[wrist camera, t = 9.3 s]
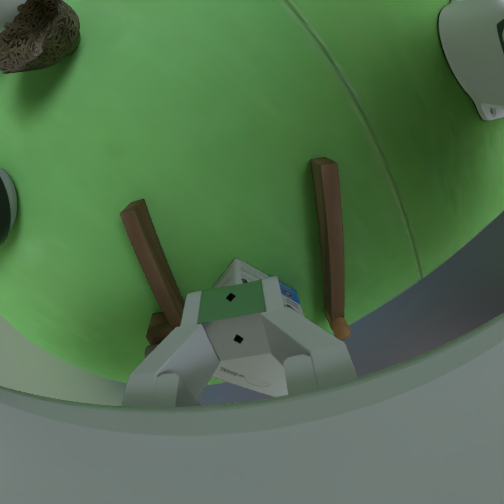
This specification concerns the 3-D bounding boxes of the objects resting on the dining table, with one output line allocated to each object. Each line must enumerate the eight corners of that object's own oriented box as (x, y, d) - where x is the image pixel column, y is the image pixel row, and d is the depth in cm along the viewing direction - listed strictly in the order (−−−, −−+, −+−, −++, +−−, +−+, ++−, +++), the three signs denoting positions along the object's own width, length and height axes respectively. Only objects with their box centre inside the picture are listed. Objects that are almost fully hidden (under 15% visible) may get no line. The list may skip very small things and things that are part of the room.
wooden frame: (326, 156, 24) (360, 173, 17) (337, 310, 33) (357, 351, 26) (105, 211, 24) (72, 243, 18) (169, 343, 33) (162, 387, 27)
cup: (82, 1, 13) (42, -22, 6) (112, 36, 16) (70, 14, 9) (33, 51, 14) (-14, 46, 7) (58, 90, 17) (7, 91, 10)
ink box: (297, 290, 31) (327, 372, 20) (271, 318, 32) (288, 400, 22) (234, 255, 28) (239, 340, 17) (209, 288, 29) (204, 376, 19)
